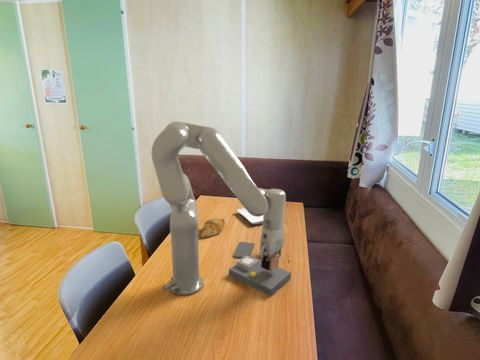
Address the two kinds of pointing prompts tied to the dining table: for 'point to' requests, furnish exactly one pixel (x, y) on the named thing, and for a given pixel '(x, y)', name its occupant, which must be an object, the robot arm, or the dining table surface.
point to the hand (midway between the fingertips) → (269, 265)
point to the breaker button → (248, 261)
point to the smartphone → (243, 249)
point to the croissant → (212, 227)
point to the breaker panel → (259, 276)
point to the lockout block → (273, 261)
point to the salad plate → (250, 216)
